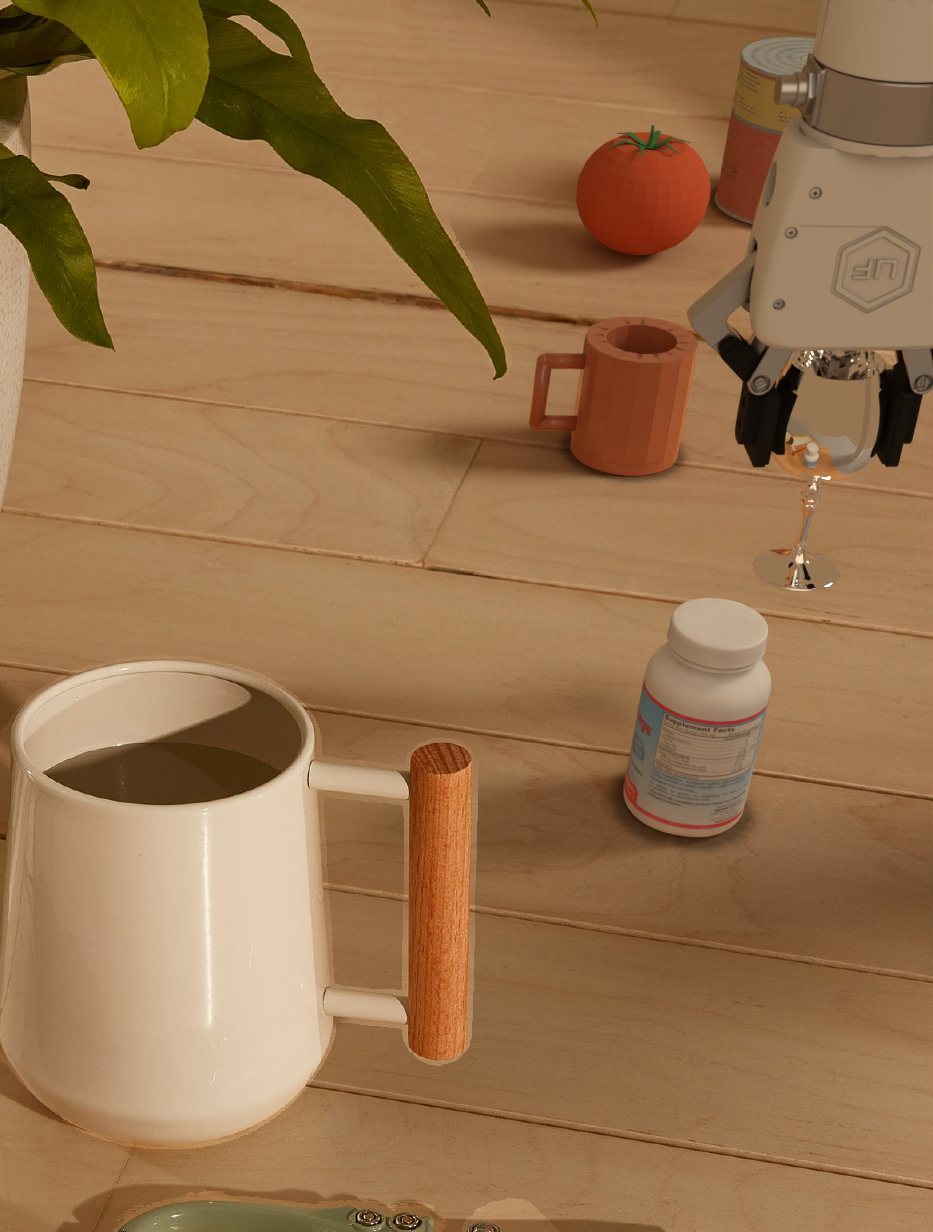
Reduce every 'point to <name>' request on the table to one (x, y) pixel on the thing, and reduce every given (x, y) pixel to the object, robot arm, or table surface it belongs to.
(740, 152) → the canned food
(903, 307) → the robot arm
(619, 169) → the tomato
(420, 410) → the table surface
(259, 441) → the table surface
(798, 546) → the wineglass
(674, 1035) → the table surface
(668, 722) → the pill bottle
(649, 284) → the table surface
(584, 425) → the mug
